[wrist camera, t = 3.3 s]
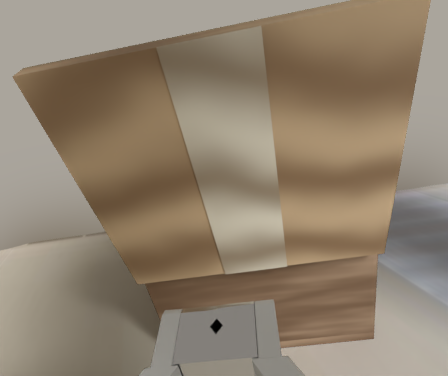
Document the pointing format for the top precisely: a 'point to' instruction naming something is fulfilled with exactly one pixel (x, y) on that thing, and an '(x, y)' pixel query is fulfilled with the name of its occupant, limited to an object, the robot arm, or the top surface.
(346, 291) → the wooden crate
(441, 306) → the top surface
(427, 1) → the lid
